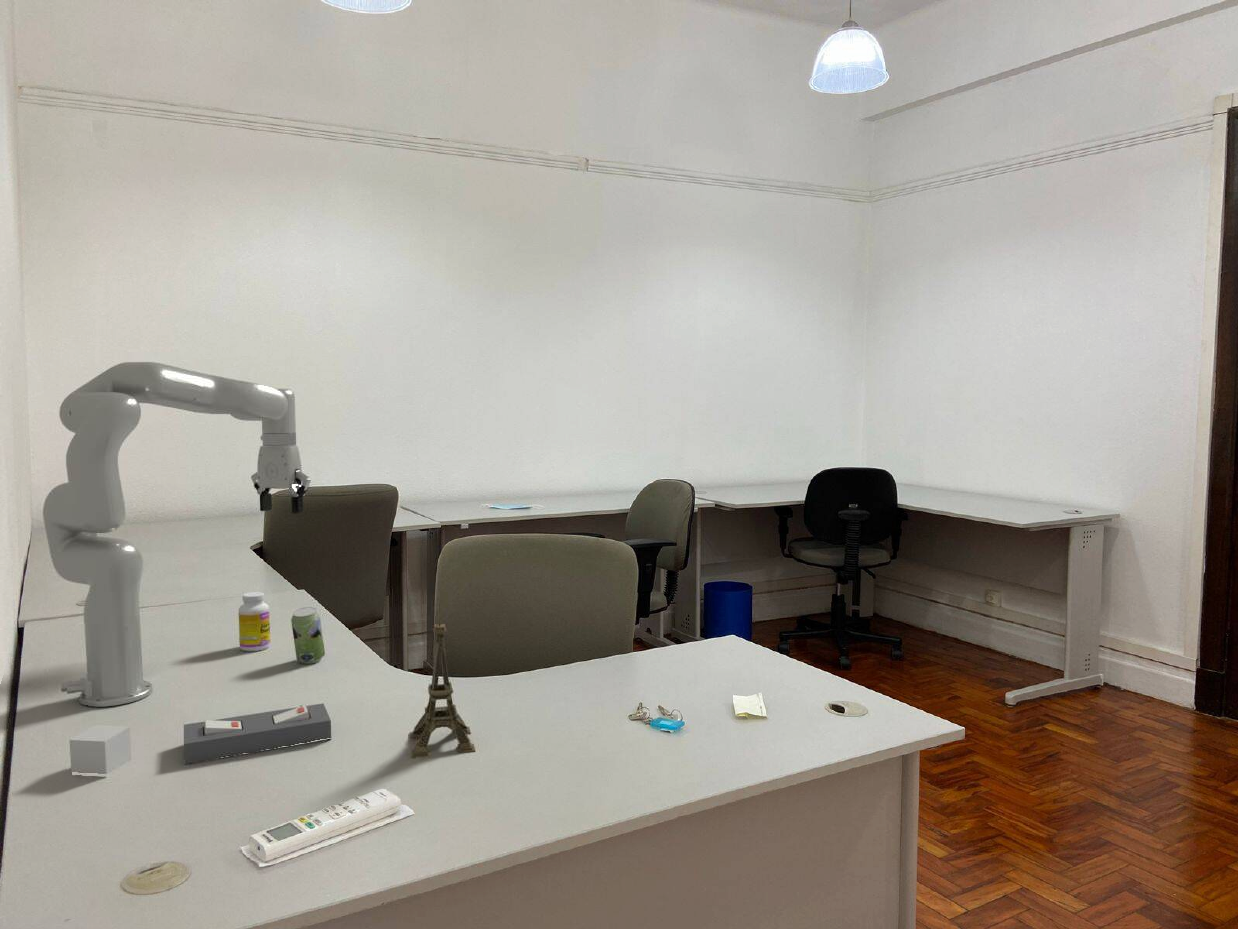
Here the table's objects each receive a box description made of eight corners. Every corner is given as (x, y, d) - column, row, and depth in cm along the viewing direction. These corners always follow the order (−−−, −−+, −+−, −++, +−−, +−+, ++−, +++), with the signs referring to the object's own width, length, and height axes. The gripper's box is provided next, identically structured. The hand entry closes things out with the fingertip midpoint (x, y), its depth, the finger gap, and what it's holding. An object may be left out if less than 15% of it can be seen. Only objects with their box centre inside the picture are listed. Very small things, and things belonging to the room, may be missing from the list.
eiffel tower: (411, 759, 146) (408, 611, 144) (409, 734, 156) (406, 596, 154) (475, 752, 149) (473, 607, 147) (469, 728, 159) (467, 592, 157)
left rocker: (204, 734, 147) (206, 726, 147) (204, 727, 150) (205, 719, 150) (240, 735, 150) (242, 728, 150) (239, 728, 153) (240, 720, 153)
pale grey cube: (97, 760, 146) (95, 725, 145) (131, 762, 145) (129, 726, 144) (71, 776, 140) (69, 739, 139) (106, 778, 139) (104, 741, 138)
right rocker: (276, 729, 152) (274, 722, 152) (274, 722, 155) (272, 715, 155) (309, 718, 154) (307, 711, 154) (307, 711, 158) (305, 704, 157)
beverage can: (329, 657, 199) (328, 605, 198) (315, 667, 192) (313, 613, 191) (303, 656, 200) (301, 604, 199) (287, 666, 193) (285, 612, 192)
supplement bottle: (263, 652, 203) (261, 597, 201) (234, 652, 203) (232, 597, 201) (275, 643, 209) (273, 590, 208) (247, 643, 209) (245, 590, 208)
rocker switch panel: (184, 764, 144) (183, 744, 143) (184, 728, 158) (183, 710, 158) (331, 739, 154) (330, 720, 153) (318, 708, 168) (317, 690, 168)
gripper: (239, 440, 210) (242, 511, 211) (296, 442, 203) (298, 516, 205) (263, 438, 217) (265, 507, 218) (319, 440, 210) (321, 511, 212)
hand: (281, 511), depth 212 cm, fingers open, 9 cm apart
